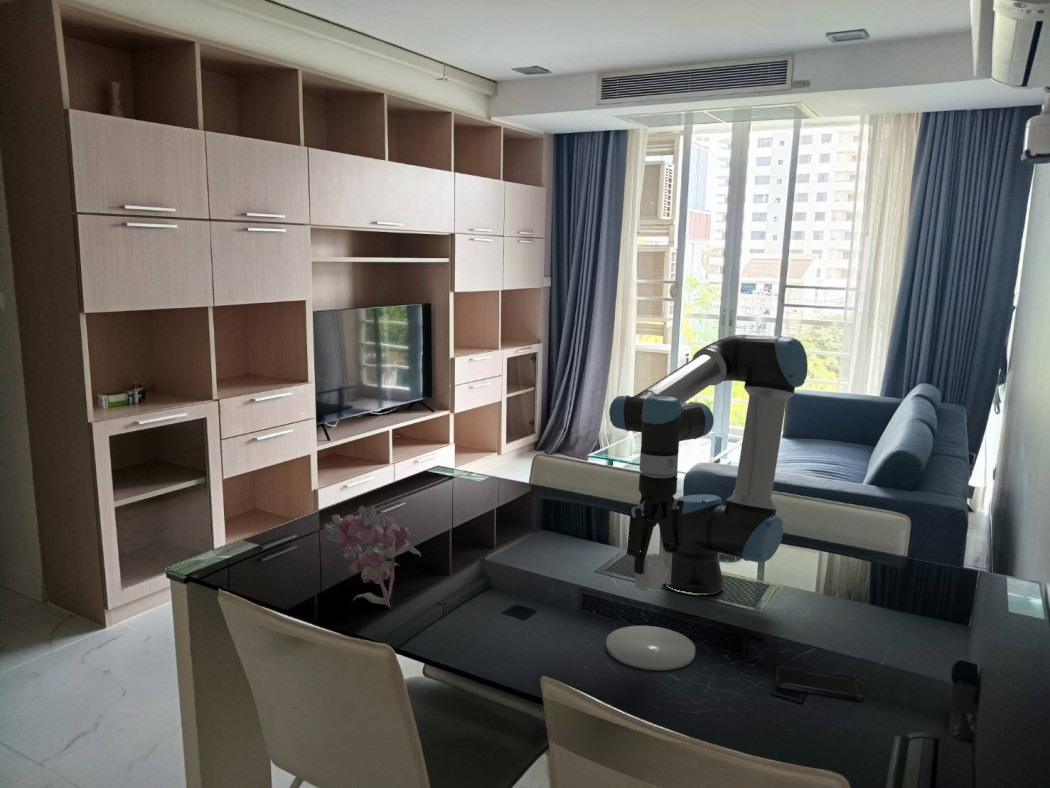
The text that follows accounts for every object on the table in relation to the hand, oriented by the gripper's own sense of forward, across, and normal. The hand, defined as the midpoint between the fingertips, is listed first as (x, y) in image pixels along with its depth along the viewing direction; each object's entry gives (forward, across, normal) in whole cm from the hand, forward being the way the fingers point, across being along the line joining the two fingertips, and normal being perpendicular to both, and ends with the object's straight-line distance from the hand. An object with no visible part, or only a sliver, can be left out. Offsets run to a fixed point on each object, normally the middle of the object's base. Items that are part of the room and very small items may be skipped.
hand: (653, 585), depth 155 cm
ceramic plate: (+14, 0, 0) cm, 14 cm away
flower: (+14, -34, +59) cm, 69 cm away
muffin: (0, 0, 0) cm, 0 cm away
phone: (+14, +16, -28) cm, 35 cm away
